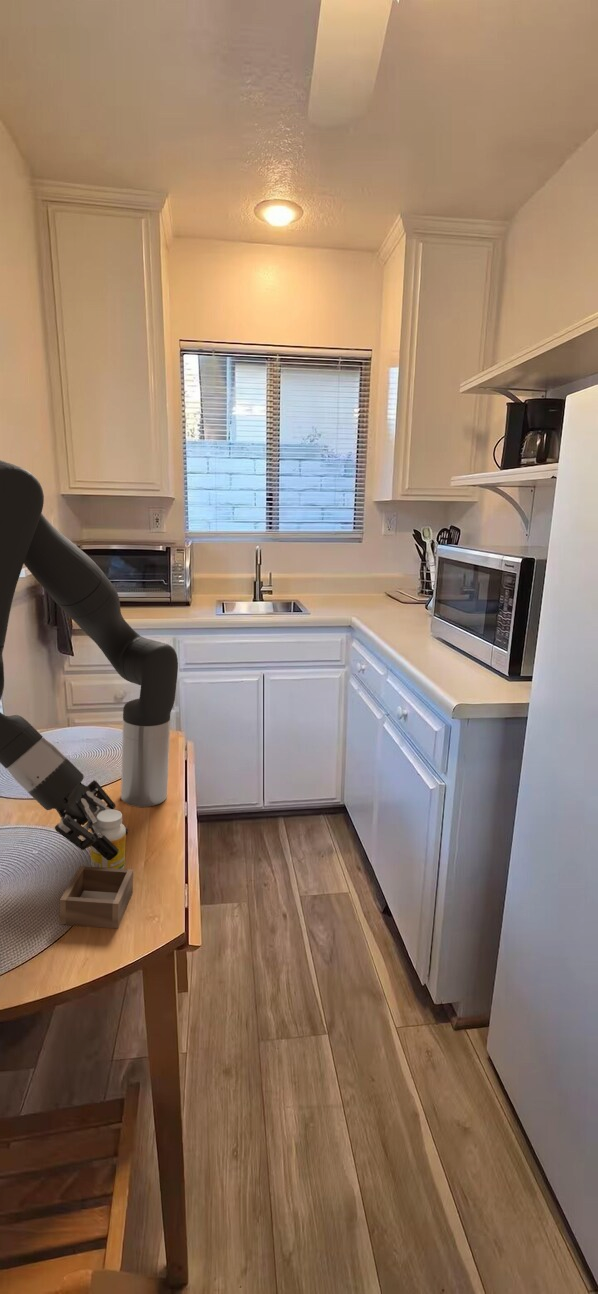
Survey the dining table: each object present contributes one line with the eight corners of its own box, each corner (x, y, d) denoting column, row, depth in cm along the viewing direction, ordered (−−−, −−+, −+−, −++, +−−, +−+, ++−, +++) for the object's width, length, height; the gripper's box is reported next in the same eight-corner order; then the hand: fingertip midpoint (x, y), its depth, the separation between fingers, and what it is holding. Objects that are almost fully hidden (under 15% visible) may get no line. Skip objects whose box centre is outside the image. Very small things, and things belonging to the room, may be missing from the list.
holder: (79, 888, 92) (80, 865, 91) (132, 892, 92) (133, 869, 92) (59, 924, 84) (59, 899, 83) (117, 928, 84) (118, 903, 84)
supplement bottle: (87, 877, 95) (87, 823, 93) (94, 858, 100) (95, 806, 98) (121, 877, 96) (122, 824, 94) (127, 858, 101) (129, 807, 99)
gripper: (44, 778, 87) (124, 857, 90) (78, 741, 101) (146, 810, 104) (8, 809, 88) (88, 886, 91) (47, 768, 102) (115, 835, 105)
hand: (119, 845), depth 97 cm, fingers closed on supplement bottle, 5 cm apart
